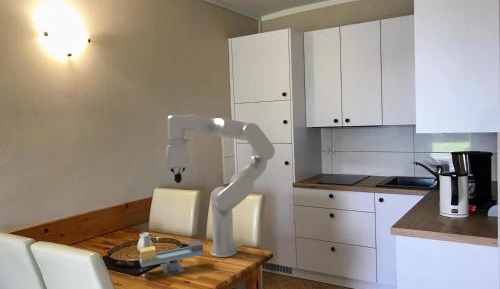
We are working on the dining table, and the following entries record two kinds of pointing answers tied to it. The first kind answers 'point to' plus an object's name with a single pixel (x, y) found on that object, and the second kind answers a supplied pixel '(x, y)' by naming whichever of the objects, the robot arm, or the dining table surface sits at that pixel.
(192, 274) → the dining table surface
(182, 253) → the beam
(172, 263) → the fulcrum
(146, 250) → the block
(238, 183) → the robot arm
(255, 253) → the dining table surface
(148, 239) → the flask
